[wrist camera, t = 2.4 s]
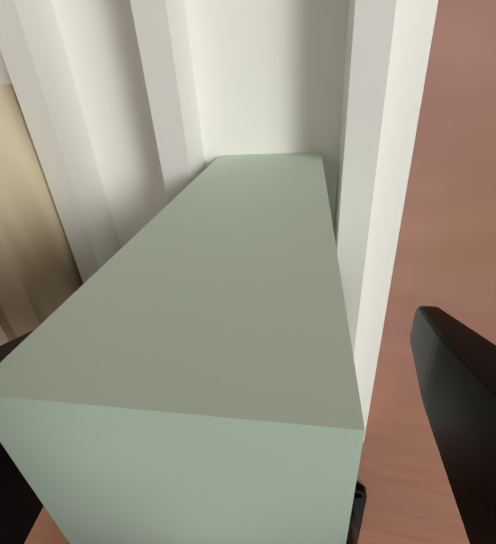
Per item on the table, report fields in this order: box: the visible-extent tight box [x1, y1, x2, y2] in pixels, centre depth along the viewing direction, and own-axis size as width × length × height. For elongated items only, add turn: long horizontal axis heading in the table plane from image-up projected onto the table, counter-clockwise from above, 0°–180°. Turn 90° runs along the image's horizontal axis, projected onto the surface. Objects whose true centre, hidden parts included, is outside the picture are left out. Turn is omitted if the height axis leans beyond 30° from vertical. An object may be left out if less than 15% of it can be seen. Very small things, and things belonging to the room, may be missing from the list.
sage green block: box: [0, 152, 365, 544], centre depth 8 cm, size 6×3×9 cm, turn 4°
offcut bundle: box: [0, 84, 83, 346], centre depth 12 cm, size 11×3×4 cm, turn 4°
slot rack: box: [0, 0, 438, 443], centre depth 12 cm, size 20×15×2 cm
